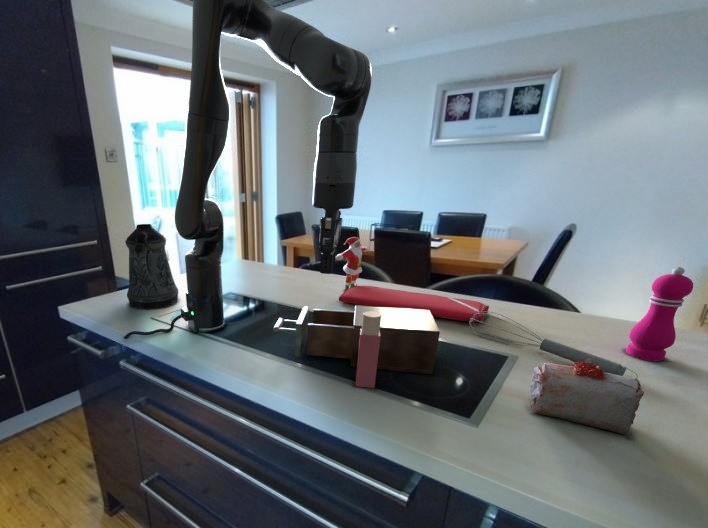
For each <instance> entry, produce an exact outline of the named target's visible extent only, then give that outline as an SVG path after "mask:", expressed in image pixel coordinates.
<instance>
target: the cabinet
mask: <svg viewBox="0 0 708 528" xmlns="http://www.w3.org/2000/svg"><path fill="white" fill-rule="evenodd" d="M370 311H371V312H378V313H380V314H381V321H380V345H379V353H378V362H377V370H381V371H383V370H384V371H393V372H404V373H411V374H412V373H414V374H423V375H433V373H434V367H435V362H436V356H437V352H438V351H437V350H438V345H439V341H440V333H441V331H440V329H439V326H438V325H437V323H436V321H435V318H434V316H432V314H431V312H430V310H419V309H403V308H387V307H371V306H364V305H355V306H354V312H355V315H354V329H353V341H352V352H351V359H350V363H349V366H350V367H352V368H357V361H358V350H359V339H360V329H362V321H363V313H364V312H370Z"/></svg>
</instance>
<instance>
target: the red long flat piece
mask: <svg viewBox="0 0 708 528" xmlns="http://www.w3.org/2000/svg"><path fill="white" fill-rule="evenodd" d="M349 288H350V287H349ZM338 301H339V302H343V303H347V304H353V305H357V306H371V307H387V308H403V309H419V310H430V312H431V314H432V316H433V317H436V318H442V319H449V320H455V321H462V322H470V323H471V321H472V323H473V322H474V323H479V322H478V321H481V322H483V321H484V319H485V317H486V316H487V314H488V313H489V309H490V306H489V305H488V304H484V303H483V302H480V301H477V300H472V299H463V298H457V297H456V298H455V297H449V296H442V295H437V294H436V295H435V294H429V293H421V292H413V291H407V290H400V289H394V288H393V289H392V288H385V287H378V286H372V285H357V286H355V287H353V288H350V289H348V290H347V291H343V292H342V293H341V295H340V296H339V297H338ZM484 311H488V312H484ZM479 312H480V313H484V314H477V313H479ZM475 314H476V315H475ZM480 315H485V316H480ZM473 316H475V318H473ZM476 316H477V317H476ZM470 318H473V319H475V320H478V321H475V320H471V319H470ZM470 320H471V321H470ZM481 322H480V323H481Z"/></svg>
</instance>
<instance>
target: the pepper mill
mask: <svg viewBox="0 0 708 528" xmlns="http://www.w3.org/2000/svg"><path fill="white" fill-rule="evenodd" d="M685 271H686V270H685V268H683V267H681V266H677V267H674V268H673V269H672V270H671V273H667V274H663V275H660V276H658V277H657V278H656V279H655V280H654V281H653V282H652V284H651V290H652V293H653V294H652V295H651V296H650V299H649V302H650V306H649V308H648V310H647V313H645V315H644V316H643V317H642V318H641V319H640V320H639V321H637V323H636V324H635V325H634V326H633V327H632V328H631V329H630V331H629V334H628V338H629V340H630V341H631V343H628V344H627V347H626V349H625V352H626V354H628V355H629V356H631V357H634V358H636V359H639V360H645V361H650V362H661V361H663V360H664V359H665V357H666V355H667V351H666V349H668V348H671V347H672V346H673V345H674V344H675V342H676V337H677V336H676V335H677V334H676V327H675V316H676V313H677V311H678V309H679V308H681V307H683V303H684V302H685V300H684V298H685V297H687V296H689V295H691V293H692V292H693V289H694V282H693V280H692V279H691V278H689V277H688V276H685V275H684V273H685Z"/></svg>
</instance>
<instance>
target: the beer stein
mask: <svg viewBox="0 0 708 528" xmlns="http://www.w3.org/2000/svg"><path fill="white" fill-rule="evenodd" d="M124 243H125V245H126V248H127V249H128V290H127V292H126V297H127V300H128V302H129V306H131V308H134V309H138V310H156V309H163V308H168V307H170V306H173V305H175V304H177V302H178V299H179V288H178V286H177V284H176V282H175V279H174V276H173V273H172V270H171V266H170V263H169V258H168V255H167V251H166V244H167V238H166V237H165V236H164V235H163V234H161V233H160V232H159V231H158V230H156V229H155V228H154V227H153V225H152V224H150V223H140V224H136V227H135V229H134V230H133V231H132V232H131V233H130V235H128V236H127V238H126V239H125V242H124Z"/></svg>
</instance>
